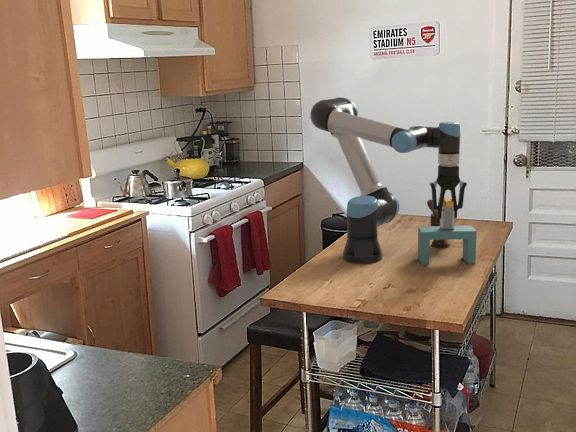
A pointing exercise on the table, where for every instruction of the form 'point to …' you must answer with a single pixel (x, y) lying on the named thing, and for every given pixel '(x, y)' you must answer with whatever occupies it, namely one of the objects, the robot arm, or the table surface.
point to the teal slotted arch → (456, 233)
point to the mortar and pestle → (436, 222)
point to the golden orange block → (447, 214)
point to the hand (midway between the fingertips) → (446, 226)
